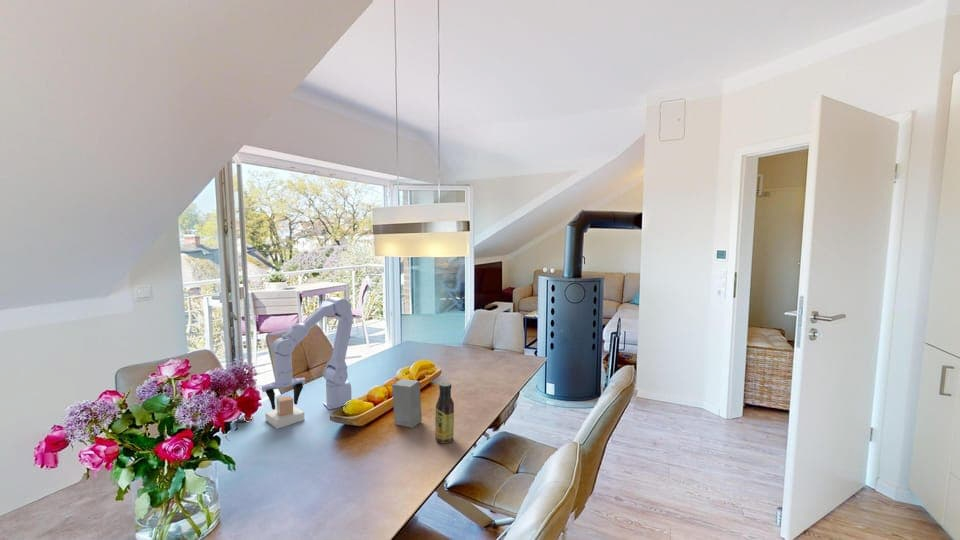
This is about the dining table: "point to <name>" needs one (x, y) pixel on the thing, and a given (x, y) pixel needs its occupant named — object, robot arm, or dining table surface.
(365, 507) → the dining table surface
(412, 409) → the skincare box
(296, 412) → the marble slab
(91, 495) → the dining table surface
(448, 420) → the sauce bottle
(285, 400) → the wooden block
